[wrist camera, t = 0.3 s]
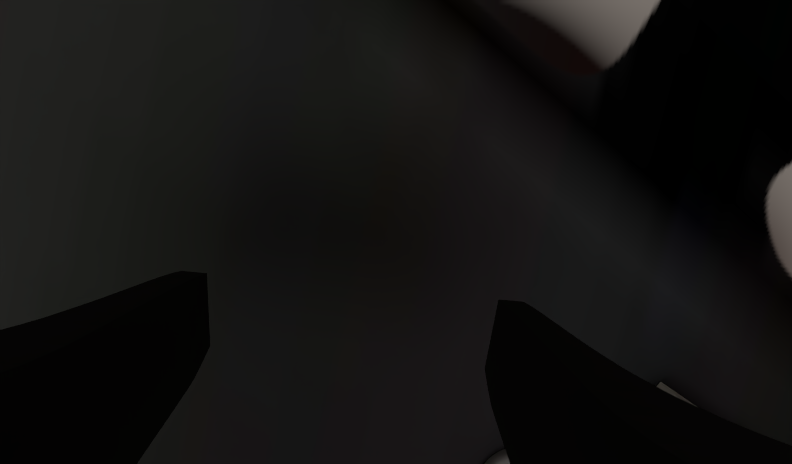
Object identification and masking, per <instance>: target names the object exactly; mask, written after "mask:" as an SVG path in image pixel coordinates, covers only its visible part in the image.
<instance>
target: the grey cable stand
mask: <svg viewBox="0 0 792 464" xmlns="http://www.w3.org/2000/svg"><path fill="white" fill-rule="evenodd" d="M485 464H510V462H509V459H508V456H507V453H506V450H505V449H503V450H501V451H499V452H497V453H495V454H494V455H492V456H491V457H490V458H489V459H488V460H487V461H486V462H485Z"/></svg>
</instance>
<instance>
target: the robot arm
mask: <svg viewBox="0 0 792 464" xmlns="http://www.w3.org/2000/svg"><path fill="white" fill-rule="evenodd" d="M209 347H210V335H209V313H208V291H207V273H197V272H186V271H180V272H175V273H171V274H168V275H165V276H162V277H159V278H156V279H153V280H150V281H147V282H144V283H142V284H139V285H136V286H134V287H131V288H128V289H126V290H123V291H120V292H117V293H115V294H112V295H109V296H107V297H104V298H101V299H98V300H95V301H92V302H89V303H87V304H84V305H81V306H78V307H75V308H72V309H69V310H66V311H63V312H60V313H57V314H54V315H51V316H48V317H45V318H41V319H38V320H35V321H31V322H28V323H24V324H21V325H17V326H13V327H10V328H6V329H2V330H0V464H137V463H138V461H139V460H140V458H141V457H142V455H143V454H144V452H145V451H146V450H147V448H148V447H149V445H150V444H151V442H152V441H153V439H154V438H155V436H156V435H157V433H158V432H159V430H160V429H161V428H162V426H163V425H164V423H165V422H166V420H167V419H168V417H169V416H170V414H171V413H172V411H173V410H174V409H175V407H176V406H177V404H178V403H179V401H180V400H181V398H182V397H183V395H184V394H185V392H186V391H187V389H188V388H189V386H190V384H191V383H192V381H193V380H194V378H195V376H196V374H197V372H198V370H199V368H200V366H201V364H202V362H203V360H204V357H205V355H206V353H207V351H208V349H209ZM485 373H486V379H487V385H488V391H489V396H490V401H491V406H492V409H493V412H494V416H495V419H496V422H497V425H498V428H499V431H500V434H501V437H502V440H503V443H504V447H505V450H506V453H507V456H508V459H509V462H510V464H792V446H790V445H788V444H785V443H782V442H780V441H777V440H774V439H772V438H769V437H767V436H764V435H761V434H759V433H756V432H754V431H751V430H749V429H746V428H744V427H742V426H739V425H737V424H734V423H732V422H730V421H727V420H725V419H723V418H720V417H718V416H716V415H714V414H712V413H709V412H707V411H705V410H703V409H701V408H698V407H696V406H694V405H692V404H690V403H688V402H685V401H683V400H681V399H679V398H677V397H675V396H673V395H671V394H669V393H667V392H665V391H664V390H662V389H660V388H658V387H656V386H654V385H652V384H651V383H649V382H647V381H645V380H643V379H641V378H639V377H638V376H636V375H634V374H632V373H631V372H629V371H627V370H625V369H624V368H622V367H620V366H619V365H617V364H616V363H614V362H613V361H611V360H609V359H608V358H606V357H605V356H603V355H601V354H600V353H598V352H597V351H595V350H594V349H592V348H591V347H589V346H588V345H586V344H585V343H583V342H582V341H580V340H579V339H577V338H576V337H575V336H573V335H572V334H570V333H569V332H567V331H566V330H565V329H563V328H562V327H560V326H559V325H558V324H556V323H555V322H553V321H552V320H550V319H549V318H548V317H546V316H545V315H543V314H542V313H540V312H539V311H537V310H536V309H534V308H533V307H531V306H530V305H528V304H526V303H524V302H519V301H508V300H498V305H497V310H496V315H495V320H494V325H493V330H492V335H491V340H490V345H489V350H488V355H487V360H486V365H485Z"/></svg>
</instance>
